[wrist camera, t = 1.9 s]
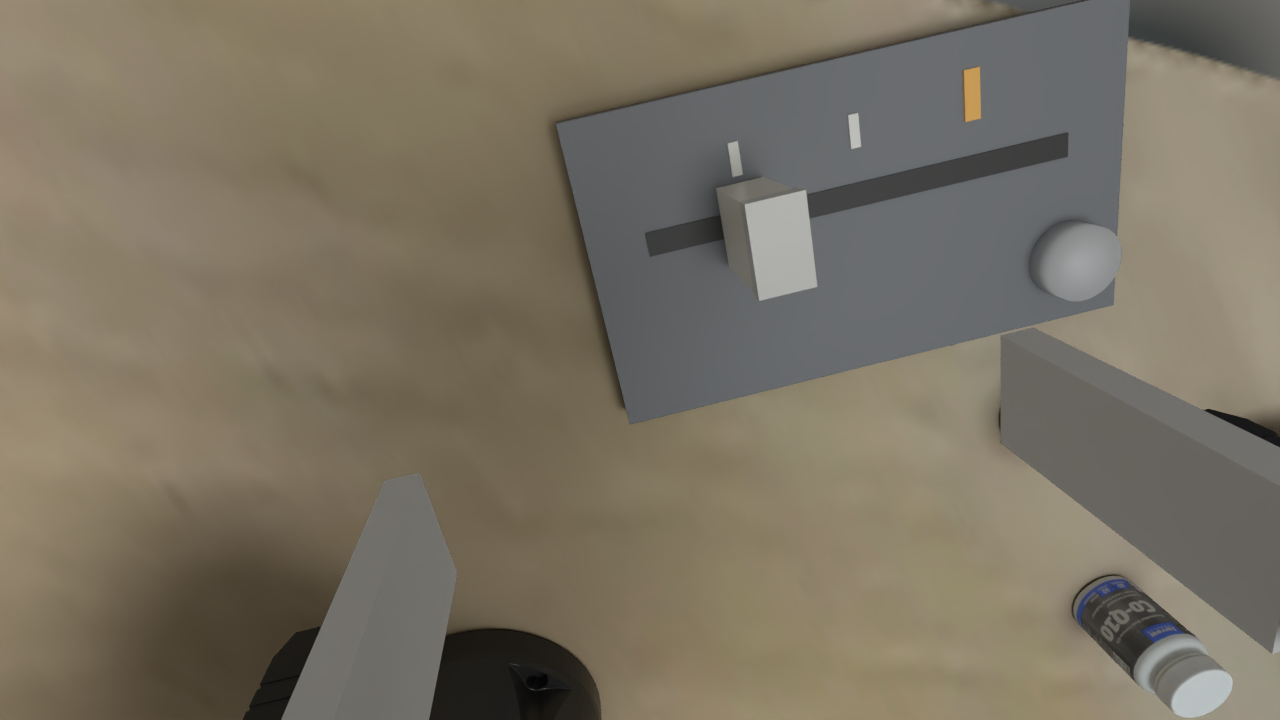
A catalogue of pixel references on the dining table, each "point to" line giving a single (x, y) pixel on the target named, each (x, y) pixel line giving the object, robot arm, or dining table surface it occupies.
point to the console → (860, 204)
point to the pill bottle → (1152, 646)
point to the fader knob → (768, 236)
